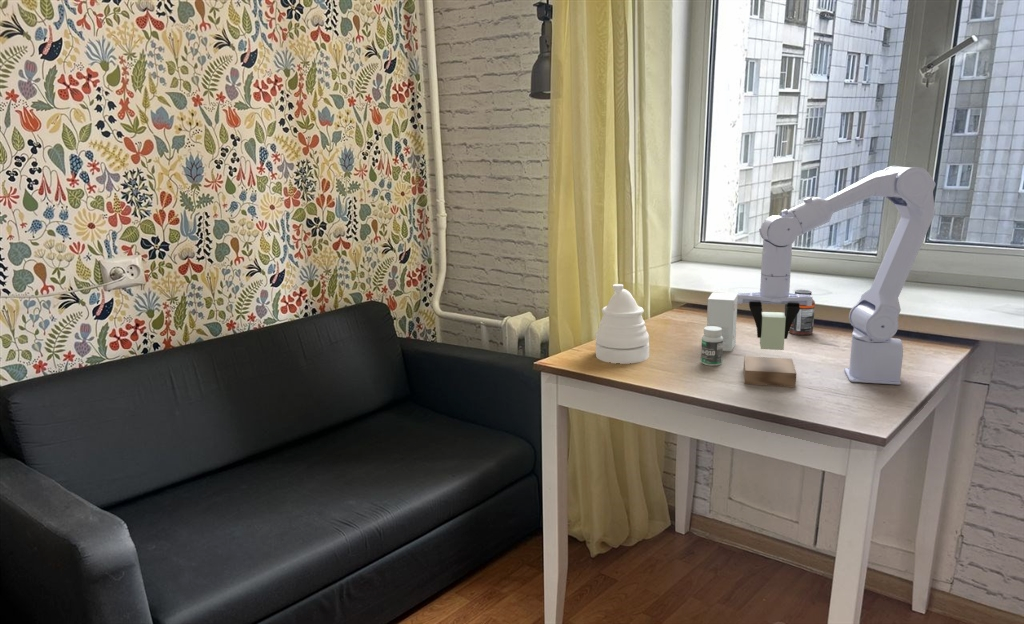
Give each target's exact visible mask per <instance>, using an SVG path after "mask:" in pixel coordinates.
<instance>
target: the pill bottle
mask: <svg viewBox="0 0 1024 624" xmlns="http://www.w3.org/2000/svg"><path fill="white" fill-rule="evenodd" d="M721 335H722V328H720V327H716V326H707V325H706V326H705V327H703V335H702V336H701V346H700V347H701V348H700V349H701V351H700V355H701V356H700V362H701V364H702V365H706V366H709V367H713V366H720V365H722V363H723V352H724V351H723V337H722V336H721Z"/></svg>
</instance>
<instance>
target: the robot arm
mask: <svg viewBox="0 0 1024 624" xmlns="http://www.w3.org/2000/svg"><path fill="white" fill-rule="evenodd" d="M935 187H936V182H935V180H934V179H933V177H932V176H931V174H930V173H929V171H928V170H927V169H926V168H923V167H921V166H920V167H919V166H912V167H910V166H909V167H908V166H901V165H890V166H888V167H886V168H884V169H883V170H878V171H876V172H872V174H869V175H867V176H866V177H864V178H862V179H861V180H858V181H857V182H855V183H852V184H851V185H849V186H846V187H845V188H843V189H842V190H840V191H837V192H836V193H834V194H832V195H830V196H828V197H827V198H822V197H818V196H815V197H811V196H808V197H807V196H806V198H803V202H802V203H800V204H797V205H796V206H794V207H792V208H789V209H787V208H784V209H783V210H781V211H780V213H781V215H776V214H775V215H770V216H769V217H766V218H765V220H764V221H763V222H762V224H761V226H760V228H759V230H758V232H759V236H760V237H761V238H762V241H763V242H762V252H761V265H760V266H761V268H760V288H759V289H760V290H759V292H758V291H757V292H737V294H738V297H737V305H738V304H739V305H740V304H741V305H743V304H748V306H749V309H750V312H751V315H752V317H753V319H754V323H755V326H756V334H757V335H756V336H757V338H759V339H760V338H761V317H762V312H763V307H762V306H763V305H764V304H765V305H767V304H768V305H784V314H785V317H786V321H785V337H784V340H788V335H789V333H790V332H789V329H790V327H791V325H792V322H793V321H794V319H795V317H796V315H797V314H798V312H799V310H800V307H799V305H806V306H812V299H813V295H803V294H795V293H791V292H790V288H791V285H790V284H791V270H792V253H793V252H792V249H793V243H794V242H796V240H797V238H798V237H800V236H802V235H804V234H806V233H809V232H811V231H813V230H815V229H817V228H819V227H820V226H823V225H826V224H827V223H829V222H830V220H831V219H832V217H833V215H834V213H836V212H839V211H841V210H843V209H846V208H849V207H852V206H853V205H855V204H858V203H860V202H862V201H865V200H867V199H869V198H872V197H880V198H881V197H884V198H887V199H888V200H889V201H890V202H891V203H893V205H894V207H895V209H896V210H897V212H898V213H899V215H900V219H899V221H898V223H897V226H896V228H895V230H894V231H893V232H894V233H893V234H892V237H891V239H890V242H889V244H888V247H887V249H886V251H885V254H884V256H883V259H882V261H881V263H880V266H879V268H878V270H877V273H876V275H875V277H874V279H873V282H872V284H871V287H870V289H868V290H867V291H865V292H864V293H863V294H861V296H860V298H859V301H858V302H857V303H856V304H855V305H854V306H853V307H852V308H851V309H850V311H849V315H848V320H849V323H850V325H851V326H852V327H853V331H852V334H851V344H850V345H851V346H850V357H849V367H845V368H844V370H843V371H844V372H845V374H846V376H847V378H848V380H849V381H850V382H851V383H867V384H868V383H869V384H882V385H898V386H899V385H901V384H902V383H901V375H902V367H903V366H902V365H903V356H904V355H903V354H904V345H903V342H902V339H900V338H893V337H894V336H895V335H896V333H897V331H898V329H899V315H900V314H901V311H902V309H901V304H900V301H899V297H900V295H901V292H902V290H903V288H904V286H905V283H906V281H907V278H908V277H909V274H910V272H911V270H912V267H913V265H914V262H915V261H916V258H917V255H918V253H919V251H920V249H921V247H922V244H923V242H924V239H925V237H926V235H927V233H928V231H929V228H930V227H931V224H932V222H933V219H934V216H935V212H936V211H935V210H936V209H935V200H934V199H935V198H934V190H935ZM762 304H763V305H762Z"/></svg>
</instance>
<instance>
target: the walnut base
mask: <svg viewBox="0 0 1024 624" xmlns="http://www.w3.org/2000/svg"><path fill="white" fill-rule="evenodd" d="M796 370H797V369H796V367H795V364H794V360H793V358H783V357H767V356H751V355H750V356H749V355H748V356H746V355H743V377H744V379H743V380H744V385H755V386H756V385H758V386H769V387H770V386H773V387H786V388H787V387H789V388H796V385H797V371H796Z"/></svg>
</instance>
